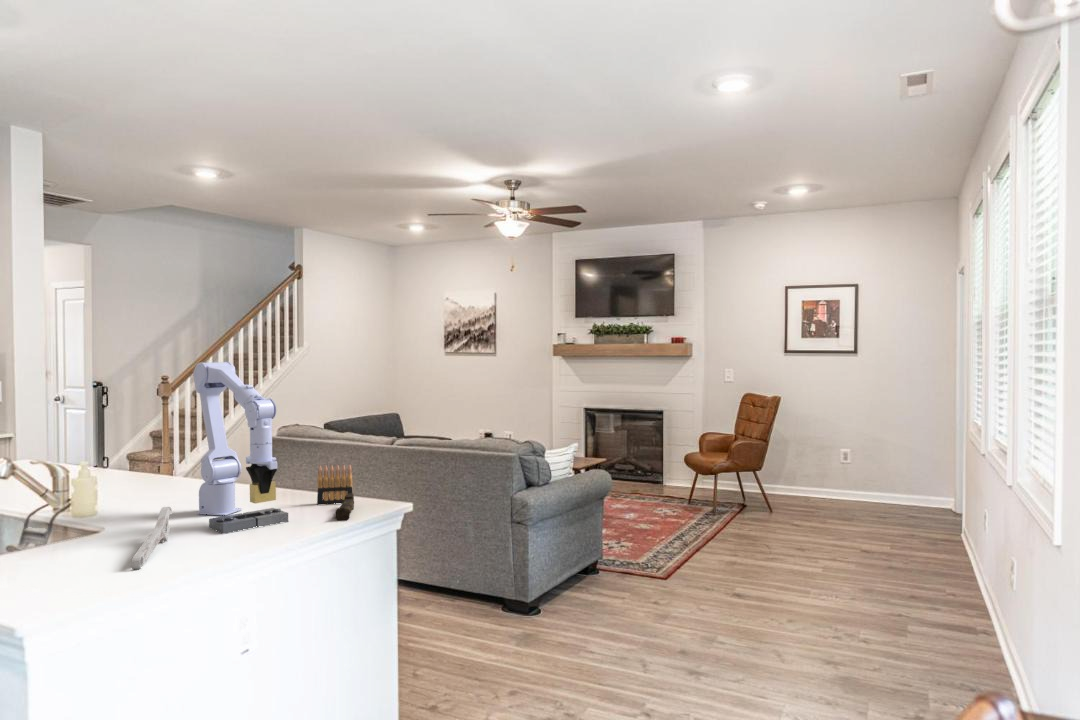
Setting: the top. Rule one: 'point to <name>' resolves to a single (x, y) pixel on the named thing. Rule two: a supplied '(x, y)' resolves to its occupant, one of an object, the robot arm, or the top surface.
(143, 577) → the top surface
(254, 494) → the brass rectangular block
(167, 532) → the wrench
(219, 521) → the chain ends
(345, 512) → the dark brown elongated piece
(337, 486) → the ammunition clip
